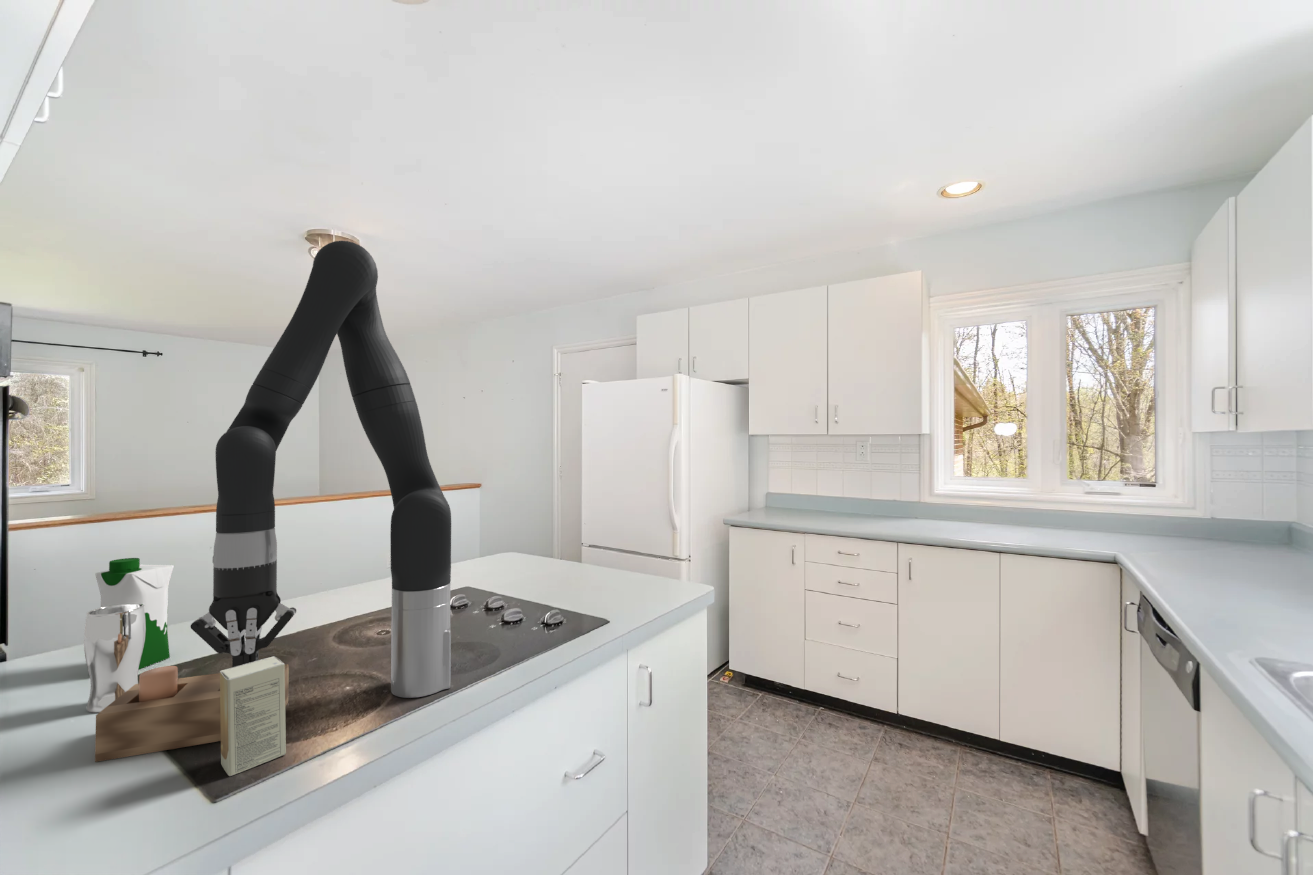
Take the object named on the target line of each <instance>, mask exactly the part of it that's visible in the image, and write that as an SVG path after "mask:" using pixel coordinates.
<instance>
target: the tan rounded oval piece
mask: <svg viewBox="0 0 1313 875" xmlns="http://www.w3.org/2000/svg"><path fill="white" fill-rule="evenodd" d="M178 671H179V667H178V666H175V665H164V666H159V667H155V668H151V669H147V670H145V671H143V672H141V673H140V674H138V676H139V678H138V684H139V702H144V701H151V700H158V699H165V698H172V697H174V696H175V695H176V694H177V684H178V678H179V677H178V676H179V675H178V674H179V673H178Z"/></svg>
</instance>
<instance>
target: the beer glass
mask: <svg viewBox="0 0 1313 875" xmlns="http://www.w3.org/2000/svg"><path fill="white" fill-rule="evenodd" d="M85 618H86V619H85V623H84V624H85V625H84V631H83V632H84V633H83V651H84V657H85V658H84V659H85V662H86V667H87V670H88V674H89V680H90V691H89V696H88V700H87V704H86V711H87V712H88V713H96V714H98V713H99V712H101V711H102V710H103V709H104V708H106V707H107V706H108V705H110V704H111V703H112V702H113V701H115V700H116V699H117V698H118V697H120V696H121V695H122V694H124V693H125V692H126V691H127V690H129V689H130V688H131V687H132V686H134V685H135V684H139V678H138V676H139V670H140V669H139V664H140V660H141V656H142V652H143V648H144V642H145V633H146V622H145V611H144V604H141V603H127V604H118V605H112V606H106V607H102V608H101V607H97V608H94V609H91V610H89V611H87V612H86V617H85ZM138 669H139V670H138Z"/></svg>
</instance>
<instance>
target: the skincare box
mask: <svg viewBox="0 0 1313 875" xmlns="http://www.w3.org/2000/svg"><path fill="white" fill-rule="evenodd" d="M284 665H285V663H284V662H283V661H282V660H281V659H280V658H278V657H276V656H271V657H270V656H269V657H266V658H262V659H259V660H258V661H254V662H251V663H247V664H243V665H240V666H236V667H233V668H232V667H230V668H225V669H222V670H219V673H220V722H221V741H220V764H221V767H222V769H223V771H225V773H226V774H227V776H229V777H231V776H235V775H237V774H239V773H242V772H245V771H247V770H251V769H253V768H255V767H257V766H260V765H262V764H264V763H268V762H270V761H272V760H275V759H278V758H279V757H282V756H285V755H286V754H287V747H286V746H287V745H286V743H287V742H286V740H287V738H286V733H287V732H286V707H285V674H284Z"/></svg>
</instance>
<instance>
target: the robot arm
mask: <svg viewBox="0 0 1313 875" xmlns="http://www.w3.org/2000/svg"><path fill="white" fill-rule="evenodd" d="M378 271H379V270H378V268H377V264H376V261H375V259H374V258H373V256H372V255H371V253H370V252H369V251H368V250H367V249H365V247H364V246H362V245H360V244H358V243H356V242H352V241H349V240H334V241H332V242H329V243H327V244H325V245H324V246H322V247H321V248H320V249H319V250H318V251H317V252H316V254H315V256H314V259H313V262H312V268H311V271H310V274H309V277H308V280H307V283H306V286H305V288H304V291H303V293H302V296H301V298H300V300H299V303H298V304H297V307H296V309H295V310H294V313H293V315H292V317H291V319H290V320H289V322H288V324H287V326H286V328H285V329H284V331H283V333H282V334H281V336H280V337H279V339H278V341H277V343H276V344H275V345H274V346H273V349H272V351H271V353H270V354H269V355H268V357H267V358H266V360H265V362H264V364H263V366H262V367H261V368H260V370H259V372H258V374H257V375H256V377H255V379H254V381H253V382H252V385H251V386H250V388H249V389H248V392H247V395H246V396H245V400H244V403H243V405H242V407H241V409H240V410H239V412H238V413H237V414H236V417H234V419H233V421H232V422H231V424H230V426H229V428H227V430H226V432H224V433H223V434H222V435H221V436H220V437H219V439H218V440H217V442H216V446H215V471H216V473H215V474H216V485H217V494H218V495H217V501H216V510H215V511H216V512H215V539H214V543H213V544H214V545H213V556H212V564H213V569H212V572H213V576H212V577H213V581H212V582H213V584H212V585H213V587H212V588H213V589H212V590H213V592H212V593H213V594H212V598H213V599H212V602H211V604H210V605H209V608H208V612H207V613H205V614H204V615H203V616H201V617H198V618H197V619H195V620H194V621H193V622H192V623H190V626H189V627H190V629H191V630H192V631H193V632H194V633H195V634H197V635H198V636H199V637H200V638H201V639H202V640H203V642H205V643H206V644H207V645H208V646H209V647H211V648H212V649H213V650H214V651H215V652H216V653H218V654H224V653H225V654H230V656H231V657H232V660H231V661H232V662H231V663H232V666H231V668H233V667H236V666H240V665H243V664H247V663H251V662H254V661H258V660H260V659H259V655H260V654H259V651H260V650H261V649H265V648H267V647H269V646H270V644H271V643H272V642H273V640H275V638H276V637H277V636H278V634H279V633H280V632H281V631H282V630H283V629H284V628H285V627H286V625H287V624H288V623H289V622H290V621H291V619H292V618H294V616H295V614H297V609H296V608H295V607H292V606H291V607H288V606H286V605H285V604H283V603H281V597H280V596H279V594H278V591H277V589H278V588H277V587H278V585H277V584H278V583H277V581H278V579H277V578H278V575H277V573H278V571H277V570H278V564H277V563H278V542H277V535H276V528H275V527H276V504H275V497H274V496H275V495H274V488H275V487H274V486H275V484H274V483H275V474H276V473H275V472H276V460H277V459H276V457H277V456H276V454H277V453H276V452H277V450H278V448H279V446H280V444H281V442H282V441H283V438H284V436H285V434H286V432H287V430H288V429H289V426H290V424H291V422H292V420H293V419H294V418H295V417H296V416H297V415H298V414H299V412H300V410H301V409H302V407H303V405H304V403H305V401H306V399H307V398H308V396H309V395H310V393H311V391H312V389H313V388H314V385H315V383H316V381H317V379H318V377H319V375H320V373H321V370H322V368H323V366H324V364H325V361H326V359H327V357H328V354H329V351H330V349H331V347H332V345H333V343H334V341H335V337H336V336H337V337H338V340H339V345H340V348H341V349H340V350H341V355H342V360H343V365H344V371H345V375H346V378H347V382H348V388H349V390H350V394H351V397H352V401H353V404H354V406H355V410H356V413H357V416H358V419H359V421H360V423H361V426H362V430H363V431H364V433H365V435H366V437H367V439H368V442H369V443H370V445H371V447H372V449H373V451H374V452H375V455H376V456H377V458H378V459H379V462H380V463H381V465H382V467H383V470H384V472H385V475H386V479H387V484H388V485H389V486H388V487H389V490H390V493H391V494H390V495H391V500H392V505H393V510H392V514H391V518H390V534H389V535H390V573H391V574H390V575H391V628H390V629H391V630H390V631H391V635H390V636H391V643H390V644H391V645H390V648H391V649H390V651H391V652H390V659H391V660H390V662H391V663H390V692H391V694H392V695H394V696H395V697H398V698H408V699H409V698H410V699H411V698H420V697H427V696H430V695H433V694H436V693H438V692H440V691H444V690H448V689H450V688H451V677H452V676H451V671H452V670H451V665H452V664H451V662H452V659H451V658H452V657H451V656H452V655H451V653H452V649H451V648H452V645H451V644H452V641H451V640H452V639H451V638H452V637H451V636H452V631H451V630H452V629H451V583H452V582H451V579H452V576H451V574H452V511H451V508H450V504H449V503H448V501H447V499H446V497H445V494H444V493H443V491H442V488H441V486H440V485H439V481H438V480H437V477H436V475H435V472H434V470H433V467H432V464H431V462H430V459H429V455H428V451H427V447H426V438H425V434H424V428H423V424H422V420H421V416H420V411H419V406H418V404H417V401H416V396H415V394H414V391H413V388H412V385H411V381H410V378H409V376H408V374H407V371H406V369H405V367H404V365H403V363H402V361H401V360H400V357H399V356H398V354H397V352H396V350H395V349H394V347H393V345H392V343H391V341H390V340H389V337H388V336H387V333H386V330H385V327H384V323H383V319H382V316H381V312H380V306H379V302H378V297H377V296H378V295H377V285H378V279H379V275H378V274H379V273H378ZM275 612H276V614H275V616H274V620H275V621H276V623H275V624H274V625H273V627H272V628H271V629H270V630H269V631H268V633H266V635H265V636H263V637H261V634H262V630H263V626H264V625H265V623H266V622H267V621H268V620H269V619H270V617H271V616H272V615H273V614H274V613H275ZM216 622H217V623H218V624H219V625H220V626H221V627H222V628H223V629H225V630H226V631H227V636H226V635H225V634H224V633H223V632H222V631H221V630H220V629H219V628H218V627H217V626H216V624H217V623H216Z"/></svg>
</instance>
